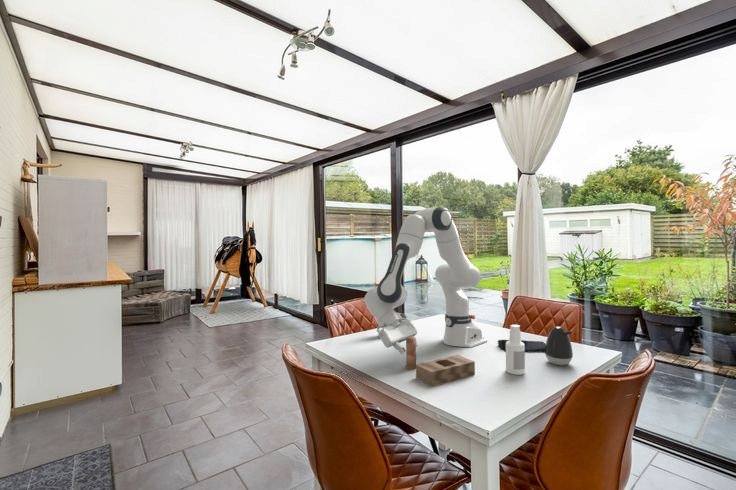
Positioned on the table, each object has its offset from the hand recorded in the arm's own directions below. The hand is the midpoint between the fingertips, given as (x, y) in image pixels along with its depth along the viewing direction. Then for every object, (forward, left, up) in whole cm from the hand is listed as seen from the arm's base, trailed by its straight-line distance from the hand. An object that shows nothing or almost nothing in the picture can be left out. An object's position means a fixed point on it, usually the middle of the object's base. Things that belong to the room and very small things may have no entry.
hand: (410, 349), depth 141 cm
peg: (0, 0, -7) cm, 7 cm away
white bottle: (-32, +24, -7) cm, 41 cm away
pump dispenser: (-55, +27, -7) cm, 62 cm away
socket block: (-6, +14, -7) cm, 17 cm away
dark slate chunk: (-61, +6, -8) cm, 62 cm away
